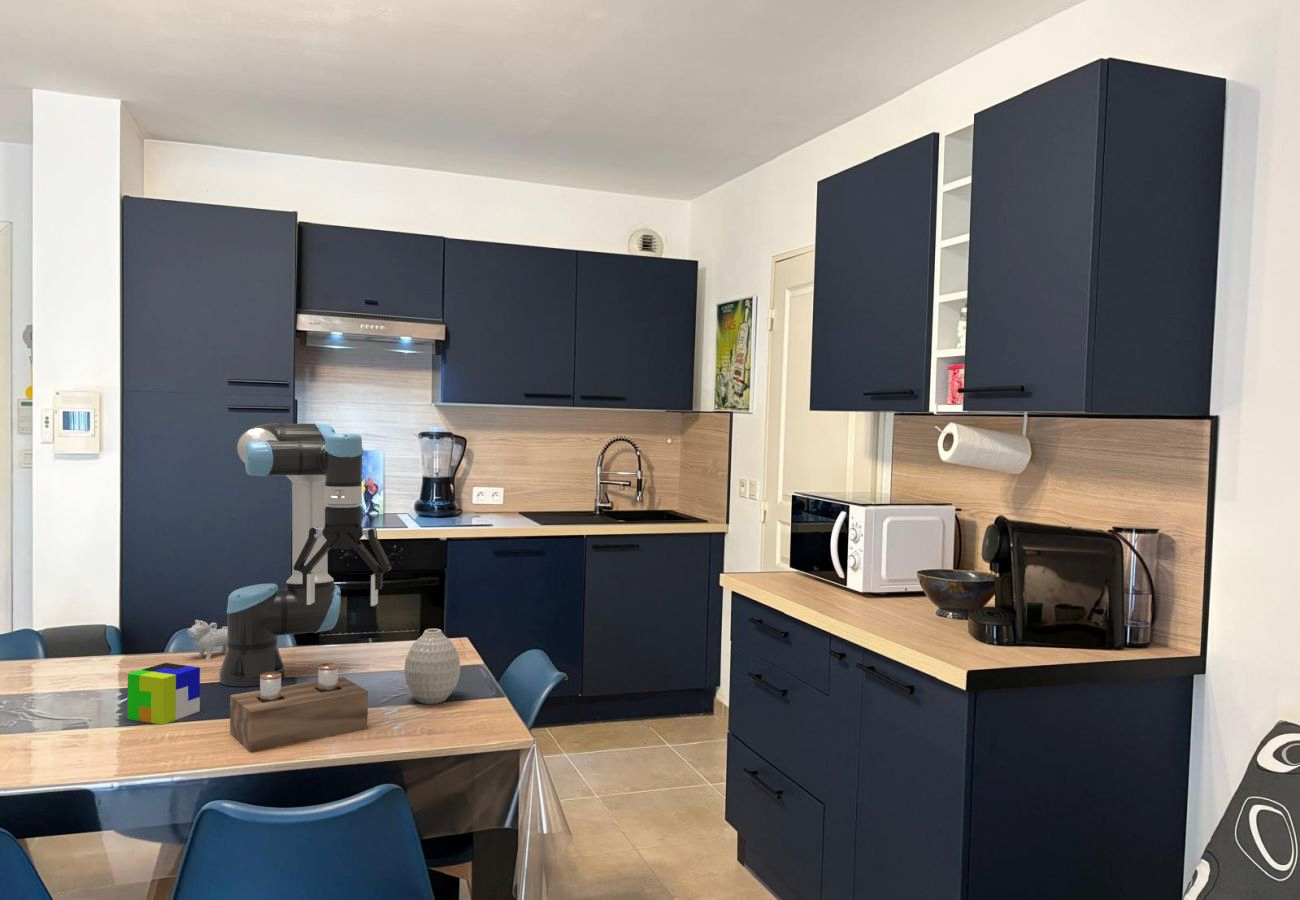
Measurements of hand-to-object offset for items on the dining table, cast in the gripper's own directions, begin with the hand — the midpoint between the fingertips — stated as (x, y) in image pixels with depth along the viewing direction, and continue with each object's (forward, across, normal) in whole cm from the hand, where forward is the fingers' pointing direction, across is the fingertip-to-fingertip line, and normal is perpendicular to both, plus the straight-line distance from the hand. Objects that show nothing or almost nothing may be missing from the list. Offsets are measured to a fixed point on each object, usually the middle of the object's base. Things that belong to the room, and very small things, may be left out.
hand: (342, 604), depth 199 cm
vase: (+27, +15, +19) cm, 36 cm away
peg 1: (+21, -12, -8) cm, 25 cm away
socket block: (+26, -8, -4) cm, 28 cm away
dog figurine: (+27, -53, +56) cm, 82 cm away
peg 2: (+21, -3, 0) cm, 21 cm away
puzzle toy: (+27, -41, +5) cm, 49 cm away
